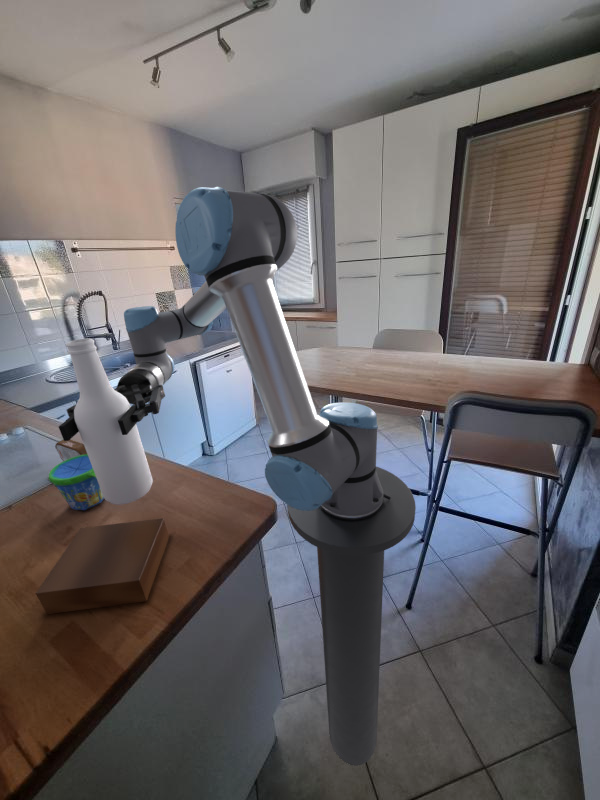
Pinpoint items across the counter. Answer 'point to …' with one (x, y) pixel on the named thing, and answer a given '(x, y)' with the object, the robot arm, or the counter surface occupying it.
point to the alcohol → (107, 429)
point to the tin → (70, 449)
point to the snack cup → (77, 482)
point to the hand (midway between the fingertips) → (93, 430)
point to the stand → (106, 567)
